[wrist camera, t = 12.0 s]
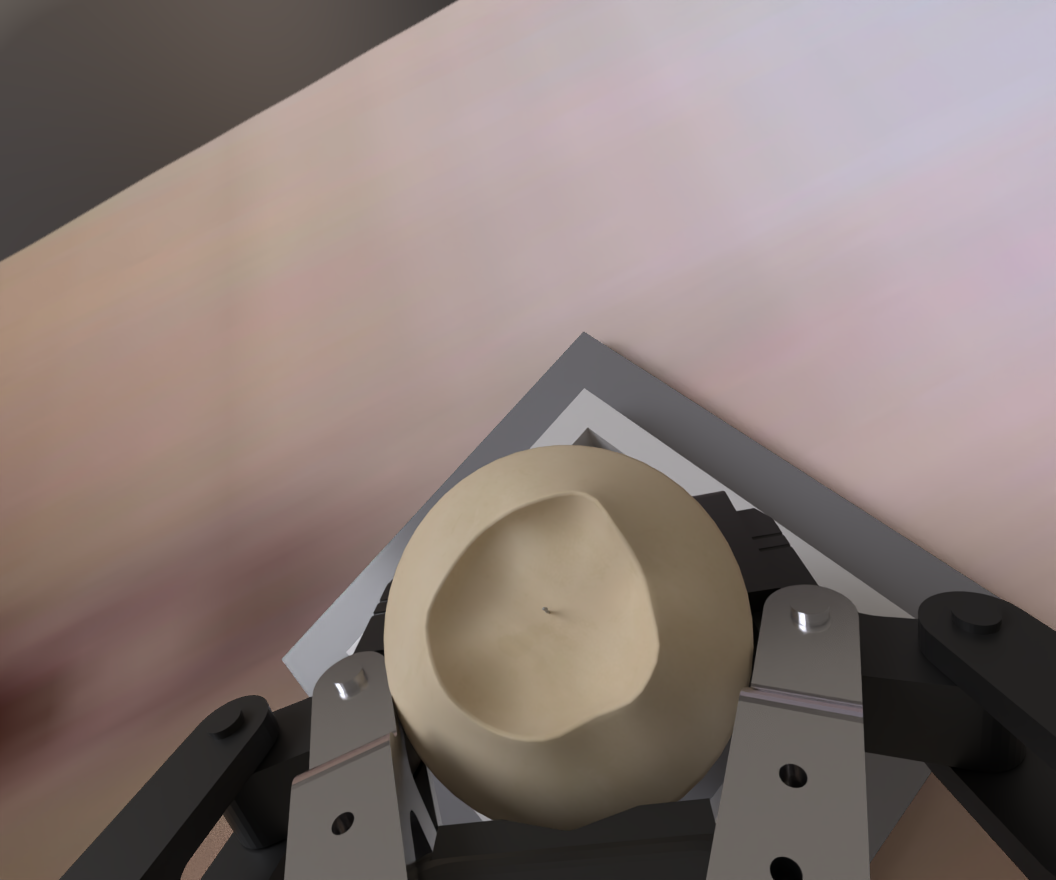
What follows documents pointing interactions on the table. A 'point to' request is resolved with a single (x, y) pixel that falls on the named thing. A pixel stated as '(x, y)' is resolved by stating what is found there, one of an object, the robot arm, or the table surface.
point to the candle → (567, 638)
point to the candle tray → (700, 468)
